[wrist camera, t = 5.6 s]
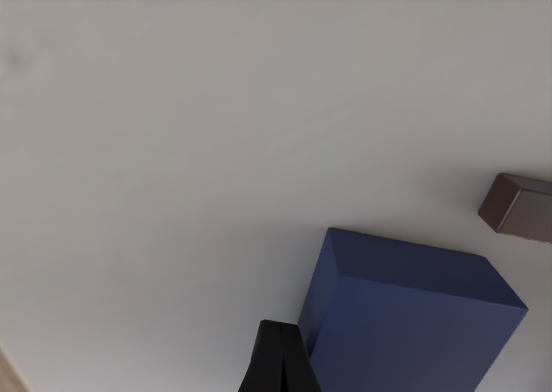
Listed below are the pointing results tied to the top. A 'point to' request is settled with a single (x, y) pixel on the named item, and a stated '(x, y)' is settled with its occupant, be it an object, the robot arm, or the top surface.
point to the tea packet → (404, 316)
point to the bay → (519, 208)
